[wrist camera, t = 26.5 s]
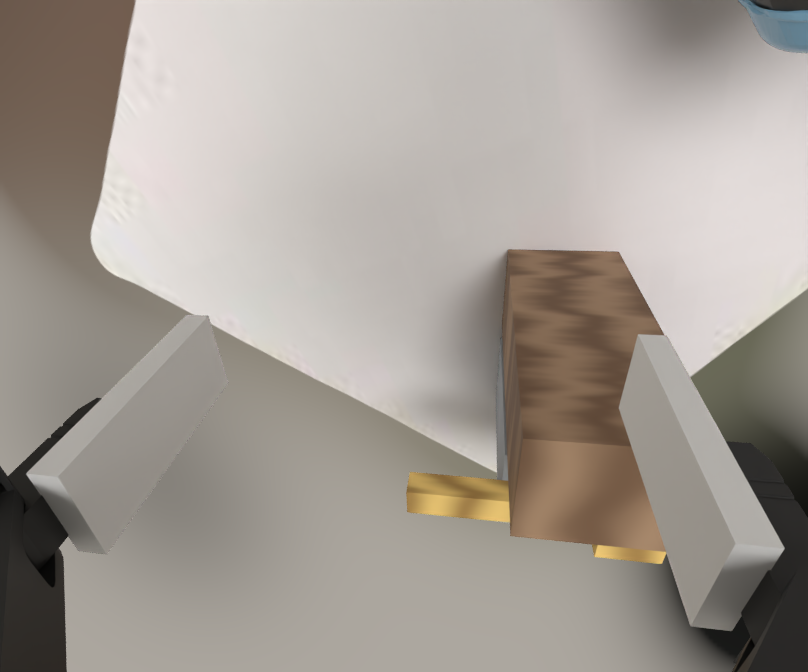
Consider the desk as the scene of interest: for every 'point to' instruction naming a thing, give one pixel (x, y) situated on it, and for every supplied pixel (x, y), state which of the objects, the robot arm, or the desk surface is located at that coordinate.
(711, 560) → the robot arm
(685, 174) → the desk surface
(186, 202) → the desk surface
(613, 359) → the walnut post
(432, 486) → the handle bar
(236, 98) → the desk surface
